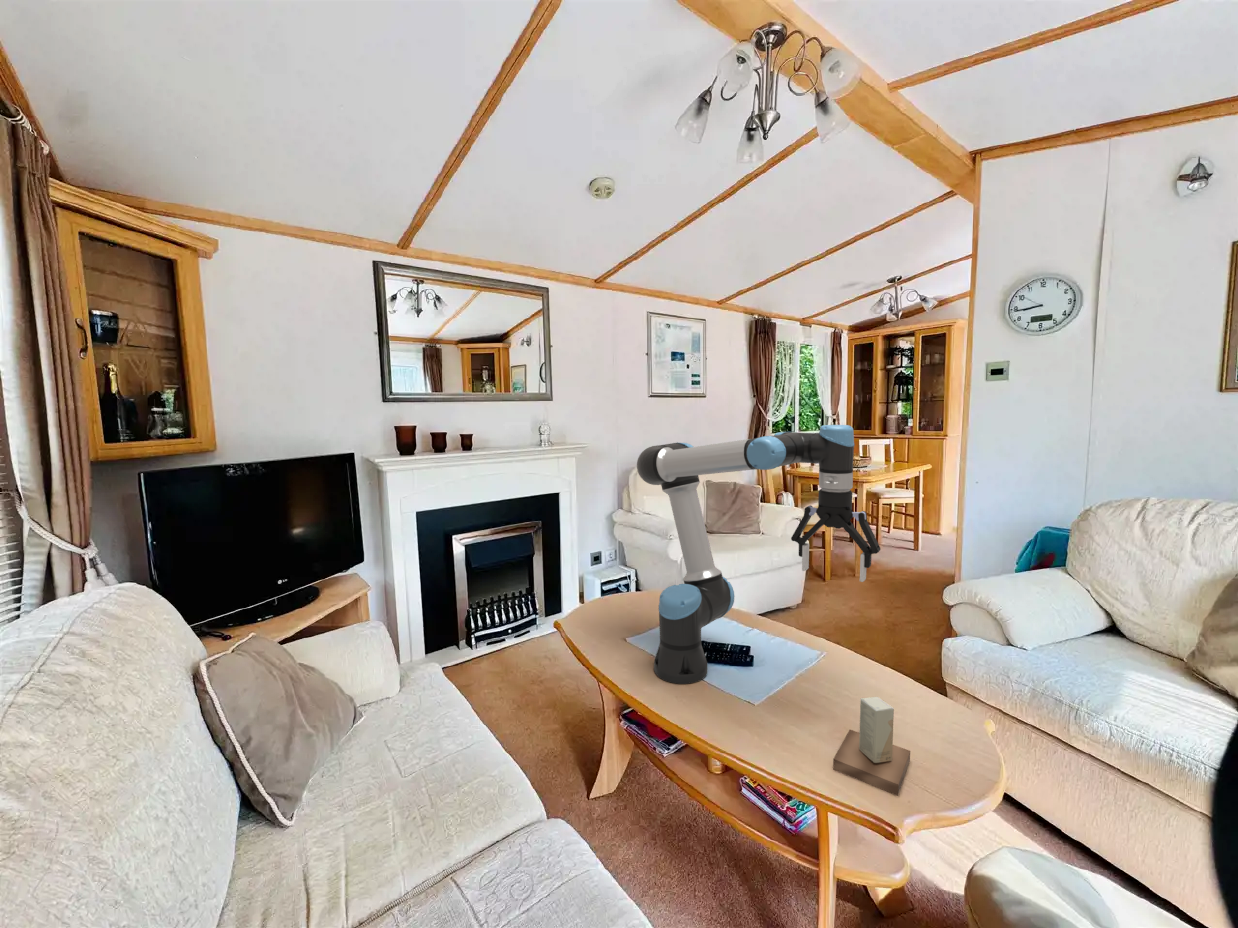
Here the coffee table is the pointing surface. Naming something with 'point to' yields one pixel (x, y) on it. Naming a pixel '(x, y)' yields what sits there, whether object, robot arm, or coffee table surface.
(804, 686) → the coffee table surface
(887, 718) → the box
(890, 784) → the walnut block
